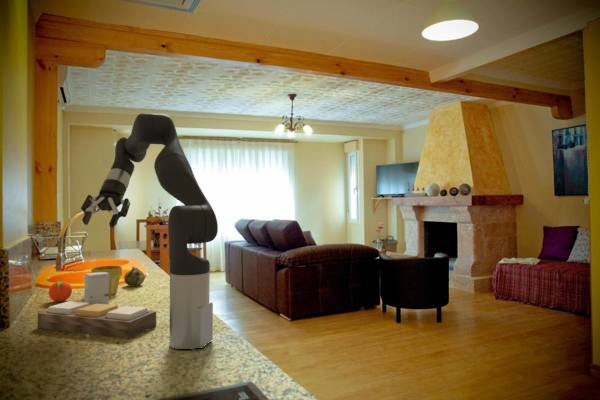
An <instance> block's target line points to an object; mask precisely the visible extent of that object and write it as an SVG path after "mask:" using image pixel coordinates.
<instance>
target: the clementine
mask: <svg viewBox="0 0 600 400" xmlns="http://www.w3.org/2000/svg"><path fill="white" fill-rule="evenodd" d="M72 293H73V288H72V285H71V283H69V282H67V281H64V280H60V281H56V282H54V283H52V285H50V287H49V289H48V296H49V298H50V299H51V300H52V301H54V302H56V303H57V302H58V303H63V302H65V301H67V300H68V299H69V298H70V297H71V296H72Z"/></svg>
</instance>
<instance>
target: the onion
mask: <svg viewBox="0 0 600 400" xmlns="http://www.w3.org/2000/svg"><path fill="white" fill-rule="evenodd" d="M145 277H146V276H145V274H144V272H143V271H142V270H140V269H139V268H138V267H135V266H132V267H131V270H129V271H127V272H126V273H125V275H124V277H123V281H124V283H125V284H126V285H127V286H129V287H138V286H141V285H142V284H143V283H144V282H145V279H146V278H145Z"/></svg>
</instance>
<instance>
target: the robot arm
mask: <svg viewBox="0 0 600 400" xmlns="http://www.w3.org/2000/svg"><path fill="white" fill-rule="evenodd" d="M130 132H131V133H130V135H129V136H128V137H127V136H122V137H120V138H119V139H118V140H117V141H116V143H115V149H114V151H115V153H114V160H113V164H112V165H111V168H110V170H109V172H108V173H107V175H106V177H105V179H104V181H103V183H102V185H101V187H100V189H99V192H98V193H99V194H98V195H97V196H92V195H91V194H88V195H87V196H86V198H85V200H84V202H83V203H82V205H81V207H80V210H81V211H82V212H83V214H84V215H83V216H82V219H81V221H82V222H83V224H84V225H85V226H88V225H89V222H90V220H91V219H92V215H94V214H95V213H99V212H100V211H101V212H103V211H107V212H111V211H113V213H114V214H112V216H111V218H110V221H109V224H108V225H109V227H110V228H115V227H116V226H117V224H118V221H119V220H120V218H122V217H123V218H126V217H127V215H128V212H129V209H130V205H131V202H130V200H129V198H128V197H126V198H125V199H123V198H124V196H125V194H126V193H127V192H126V191H127V189H128V187H129V184H130V181H131V177H132V176H133V174H134V171H135V164H134V163H141V162H142V161H143V160H144V159H145V157H146V156H147V151H148V149H149V148H150V145H163V146H164V147H162V149H161V150H160V152H159V153H158V154H157V156H156V158H155V159H154V160H155V161H154V163H153V168H154V173H155V174H156V177H157V180H158V183H159V184H160V186H161V188H162V189H163V190H164V191H165V192H167V194H169V196H170V195H171V196H172V197H173V198H175V199H176V200H177V201H179V202H180V203H182V204H183V205H182V204H181V205H174V206H173V207H171V209H170V210H169V213H168V220H167V221H168V222H167V230H168V231H167V232H168V233H167V235H168V252H169V253H168V259H169V347H170V348H171V347H172V348H171V349H174V348H175V350H178V349H191V348H201V347H203V346H204V345H205V344H207V343H208V342H210V341H211V340H213V335H214V334H213V333H214V332H213V331H214V329H213V323H214V322H213V321H214V320H213V319H214V313H213V312H214V308H213V307H214V305H213V302H211V301H210V282H211V281H210V280H211V279H210V278H211V277H210V276H211V275H210V272H211V271H210V269H211V268H210V267H211V266H210V260H209V259H207V258H204V257H202V256H201V257H200V256H197V255H195V254H193V253H191V252H190V251H189V248H188V245H191V244H193V245H194V244H205V243H210V242H212V241H214V240H215V239H216V238H217V235H218V229H219V224H218V220H217V216H216V213H215V211H214V208H213V207H212V205H211V204H210V201H209V200H208V199H207V197H206V196H205V194H204V192H203V191H202V190H201V187H200V185H199V183H198V181H197V178H196V177H195V174H194V172H193V169H192V167H191V164H190V162H189V160H188V158H187V157H186V154H185V152H184V150H183V147H182V145H181V143H180V140H179V136H178V133H177V129H176V127H175V123H174V121H173V118H172V117H171V116H170V115H168V114H165V113H156V112H155V113H153V112H141V113H139V114H138V115H137V116H136V117H135V119H134V122H133V124H132V129H131V131H130ZM119 206H121V209H120V211H119V209H118V207H119ZM203 348H204V347H203Z"/></svg>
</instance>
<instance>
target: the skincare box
mask: <svg viewBox="0 0 600 400" xmlns="http://www.w3.org/2000/svg"><path fill="white" fill-rule="evenodd" d="M83 293H84V296H83V297H84V303H89V305H94V304H107V305H110V304H109V303H110V300H109V297H110V295H109V273H106V272H97V273H91V272H90V273H89V272H88V273H84V291H83Z"/></svg>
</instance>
